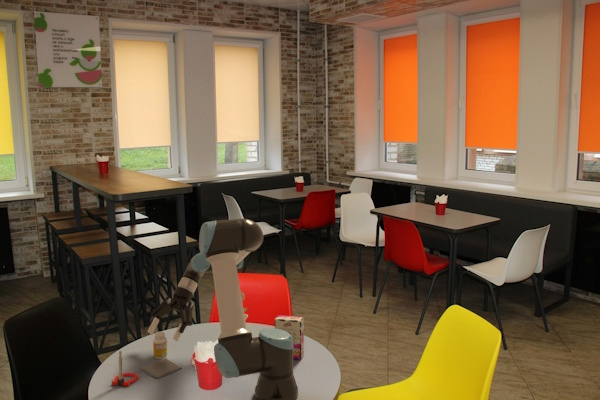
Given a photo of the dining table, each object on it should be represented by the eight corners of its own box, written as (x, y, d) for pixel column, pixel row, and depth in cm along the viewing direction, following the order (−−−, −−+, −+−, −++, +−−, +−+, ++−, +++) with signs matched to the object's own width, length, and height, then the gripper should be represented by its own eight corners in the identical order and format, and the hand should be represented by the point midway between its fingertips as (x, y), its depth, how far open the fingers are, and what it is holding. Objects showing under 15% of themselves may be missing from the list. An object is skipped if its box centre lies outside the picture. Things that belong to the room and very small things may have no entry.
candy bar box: (304, 355, 223) (304, 316, 220) (301, 360, 218) (301, 321, 215) (277, 352, 226) (277, 314, 223) (274, 357, 221) (274, 318, 218)
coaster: (181, 368, 211) (181, 367, 211) (157, 378, 203) (156, 377, 203) (165, 359, 218) (165, 358, 218) (141, 369, 210) (141, 367, 210)
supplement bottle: (155, 353, 224) (154, 330, 222) (168, 352, 224) (167, 330, 223) (152, 359, 219) (151, 336, 217) (166, 358, 219) (165, 336, 218)
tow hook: (121, 374, 207) (109, 385, 198) (120, 342, 205) (108, 351, 196) (142, 376, 206) (130, 387, 197) (141, 343, 204) (130, 353, 195)
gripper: (212, 299, 230) (190, 346, 219) (167, 289, 242) (144, 334, 231) (204, 291, 224) (181, 338, 214) (158, 281, 236) (134, 326, 226)
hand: (162, 336), depth 223 cm, fingers open, 13 cm apart
